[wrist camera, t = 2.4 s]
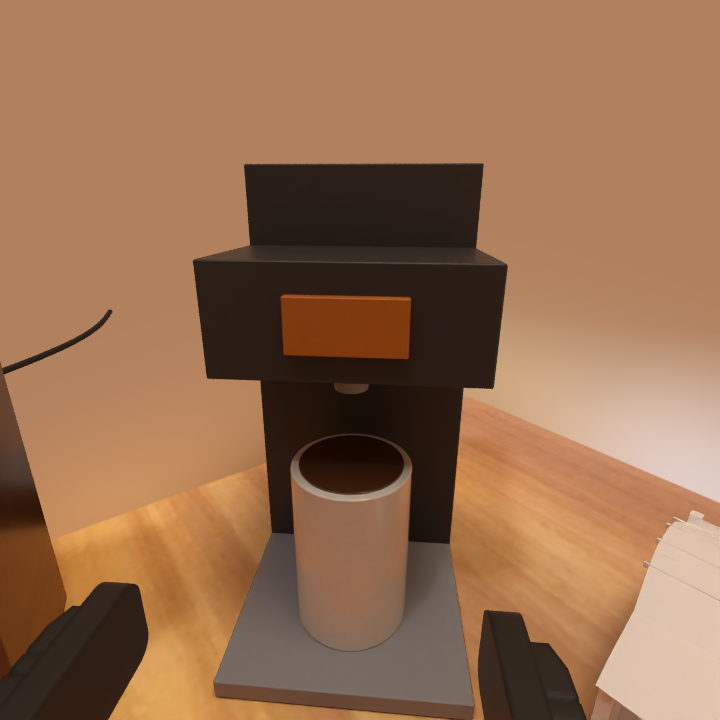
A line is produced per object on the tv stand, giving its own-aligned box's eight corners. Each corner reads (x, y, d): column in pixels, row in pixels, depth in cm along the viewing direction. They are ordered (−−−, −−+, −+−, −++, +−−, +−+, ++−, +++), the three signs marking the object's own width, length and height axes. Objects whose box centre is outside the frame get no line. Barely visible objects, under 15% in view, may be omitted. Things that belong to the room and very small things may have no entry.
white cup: (285, 579, 26) (276, 444, 23) (376, 549, 28) (378, 423, 25) (318, 671, 21) (313, 513, 18) (426, 625, 23) (436, 478, 20)
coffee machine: (472, 721, 20) (551, 127, 12) (215, 697, 21) (129, 130, 13) (440, 499, 35) (465, 172, 27) (292, 490, 36) (275, 172, 28)
